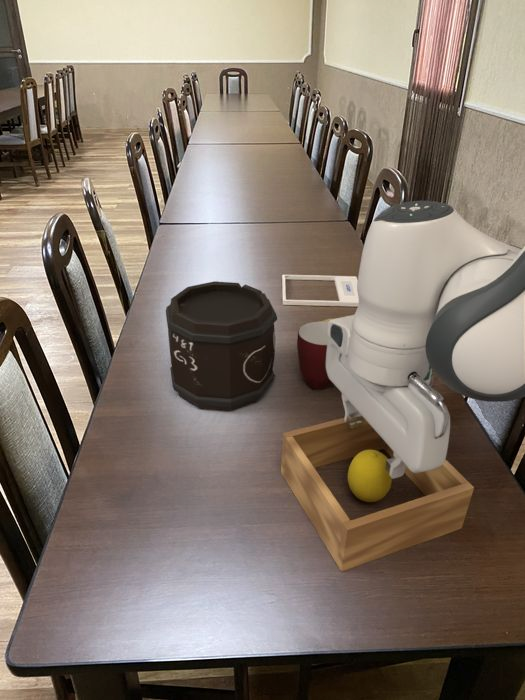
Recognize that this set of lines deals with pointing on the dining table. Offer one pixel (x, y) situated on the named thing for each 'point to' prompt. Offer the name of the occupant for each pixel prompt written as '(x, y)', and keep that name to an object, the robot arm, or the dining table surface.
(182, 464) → the dining table surface
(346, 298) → the photo frame
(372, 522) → the crate
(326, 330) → the mug
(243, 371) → the wooden barrel
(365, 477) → the lemon
